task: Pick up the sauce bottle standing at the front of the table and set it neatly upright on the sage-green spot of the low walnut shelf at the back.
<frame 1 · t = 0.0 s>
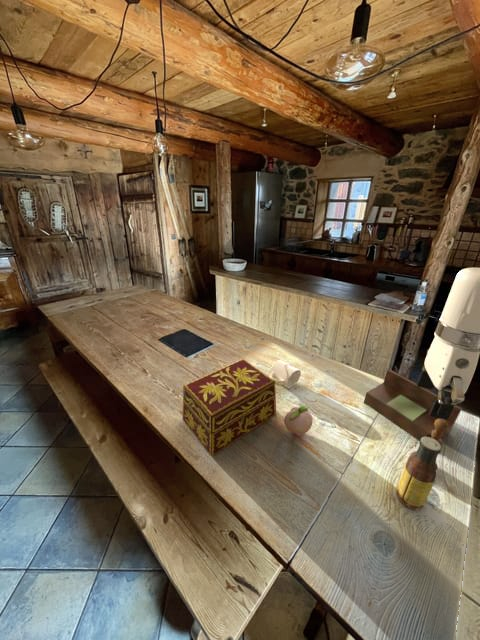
hand: (430, 401, 59), 30 cm above the table, tool pointing down, fingers open, 9 cm apart
mortar and pestle: (421, 466, 77), on the table
decorative fruit: (297, 431, 88), on the table
mug: (282, 382, 111), on the table
shelf: (403, 416, 94), on the table
decorative box: (229, 417, 93), on the table
sauce bottle: (408, 498, 69), on the table
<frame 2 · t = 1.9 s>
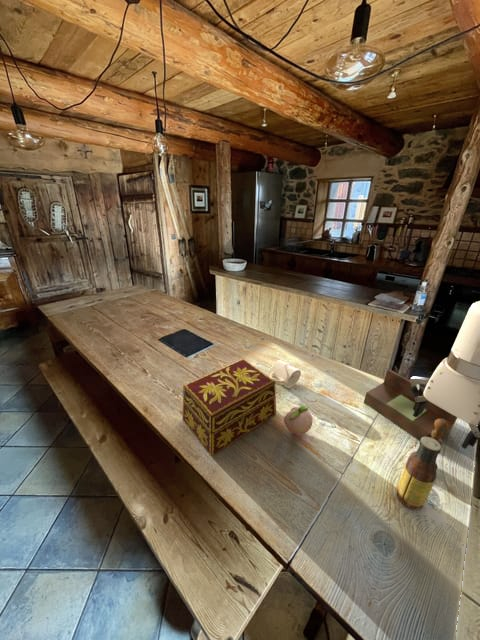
hand: (440, 428, 58), 25 cm above the table, tool pointing down, fingers open, 9 cm apart
nothing on the table moved.
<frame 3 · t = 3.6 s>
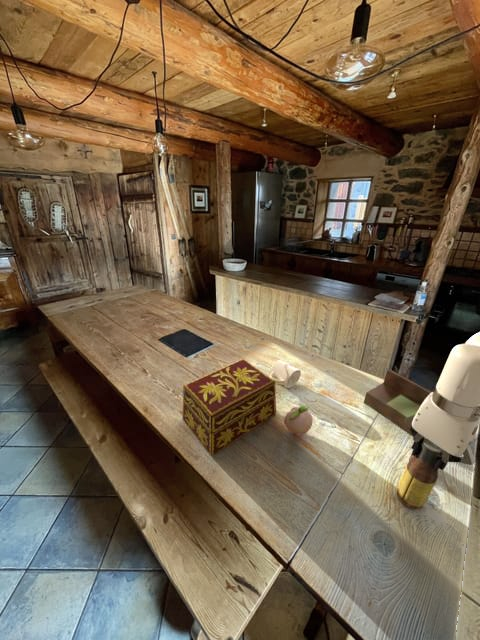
hand: (426, 459, 63), 15 cm above the table, tool pointing down, fingers closed on sauce bottle, 4 cm apart
sauce bottle: (408, 498, 69), on the table, touching gripper
everything else where it was.
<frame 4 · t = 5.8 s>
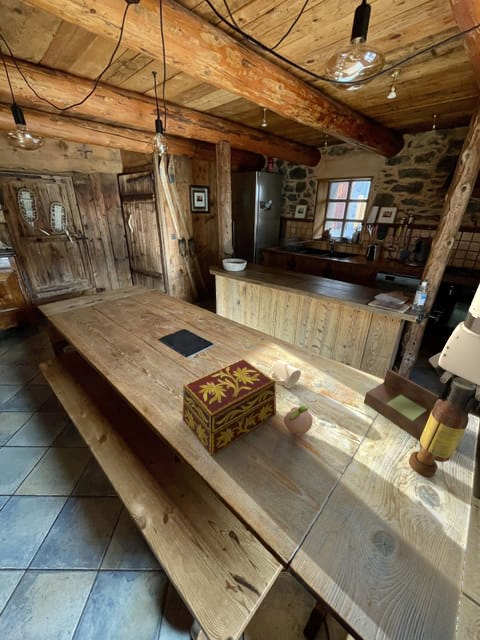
hand: (455, 402, 55), 32 cm above the table, tool pointing down, fingers closed on sauce bottle, 4 cm apart
sauce bottle: (432, 451, 62), point 18 cm above the table, touching gripper
everything else where it was.
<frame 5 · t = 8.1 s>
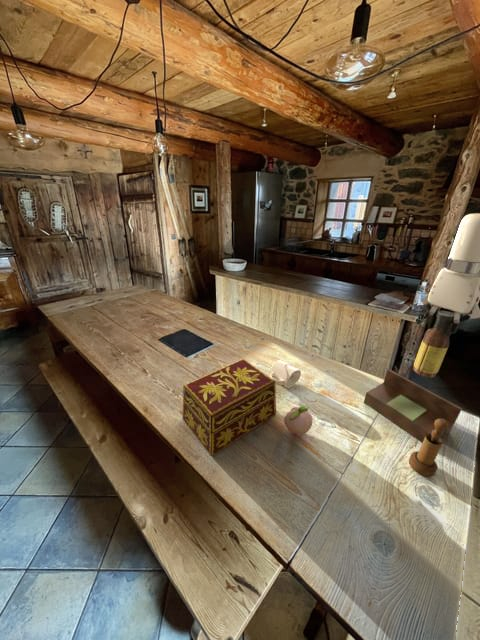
hand: (440, 330, 75), 37 cm above the table, tool pointing down, fingers closed on sauce bottle, 4 cm apart
sauce bottle: (422, 372, 81), point 22 cm above the table, touching gripper
everything else where it was.
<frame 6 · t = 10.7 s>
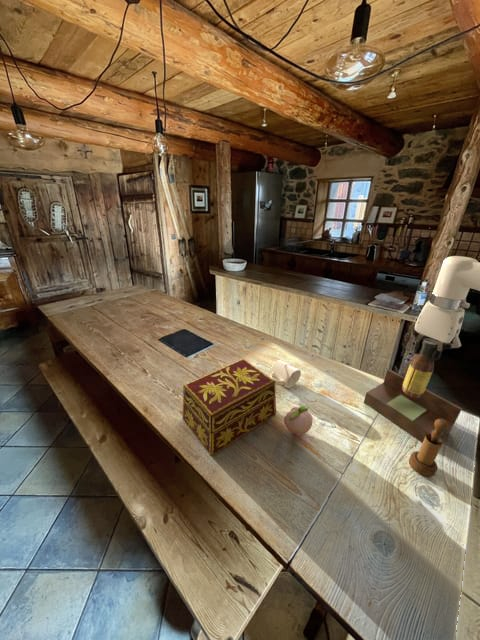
hand: (425, 355, 83), 26 cm above the table, tool pointing down, fingers closed on sauce bottle, 4 cm apart
sauce bottle: (410, 392, 89), point 11 cm above the table, touching gripper
everything else where it was.
when the fingers open (20 cm above the table, at t = 12.5 s): sauce bottle stays where it is, resting on shelf.
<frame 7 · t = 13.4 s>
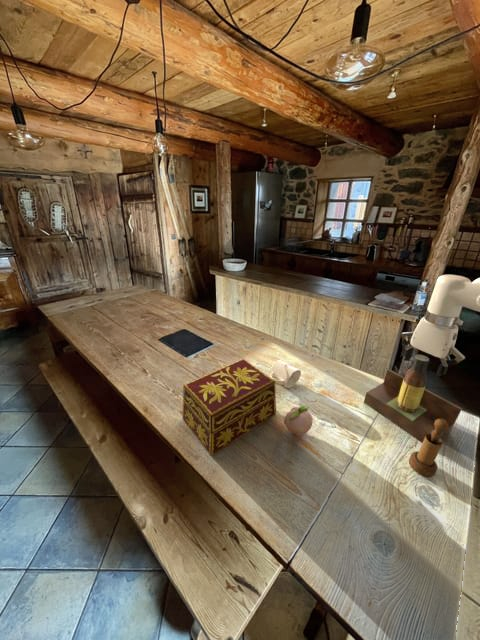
hand: (422, 366, 84), 22 cm above the table, tool pointing down, fingers open, 9 cm apart
sauce bottle: (405, 406, 92), point 5 cm above the table, touching shelf
everything else where it was.
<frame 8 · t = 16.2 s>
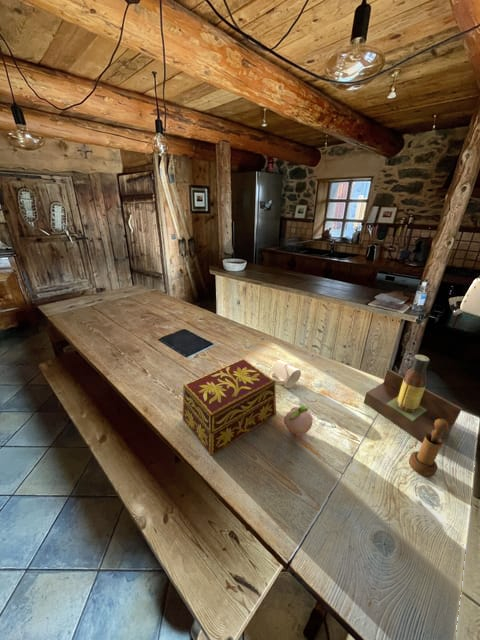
hand: (472, 333, 79), 34 cm above the table, tool pointing down, fingers open, 9 cm apart
nothing on the table moved.
at the end: sauce bottle inside the target area on the shelf (0.2 cm from its centre), point 5.0 cm above the shelf's base; sauce bottle tilted 0°; the gripper is holding nothing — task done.
